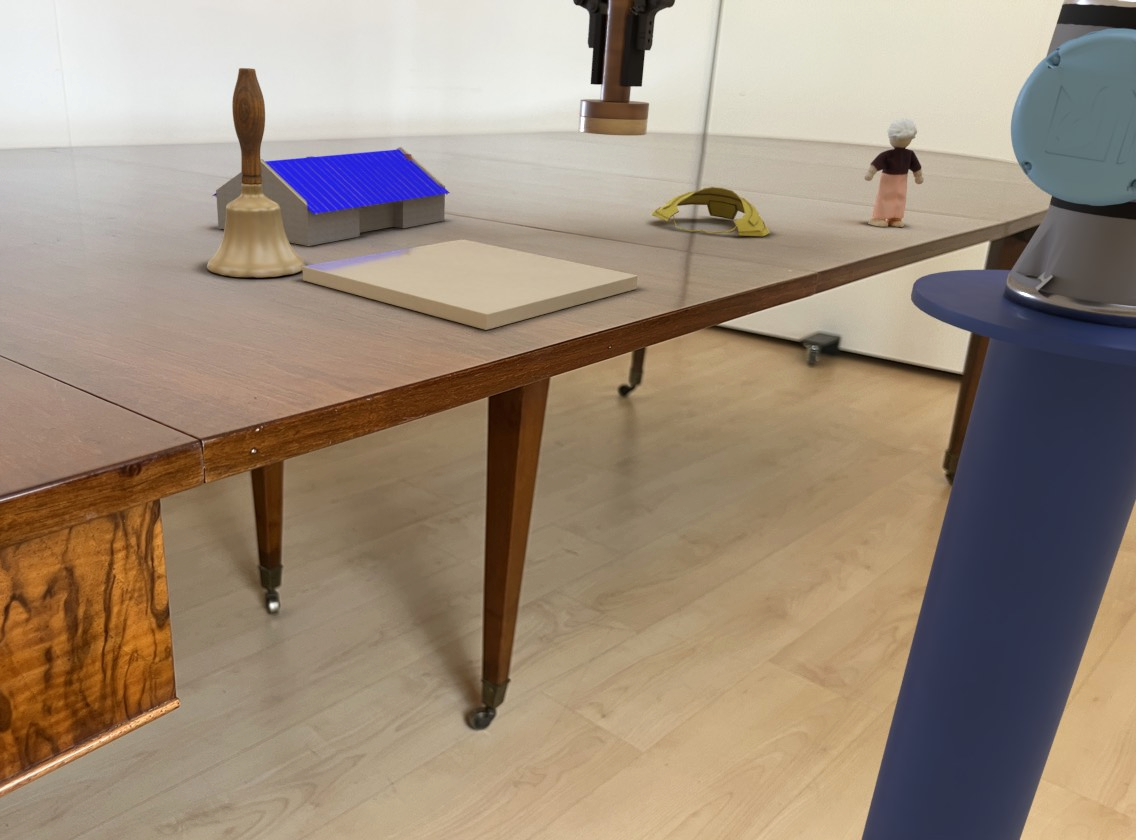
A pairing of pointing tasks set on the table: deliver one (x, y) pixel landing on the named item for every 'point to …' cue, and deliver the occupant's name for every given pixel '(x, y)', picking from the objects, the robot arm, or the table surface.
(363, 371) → the table surface
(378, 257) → the tile
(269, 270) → the hand bell
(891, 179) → the grandmother figurine
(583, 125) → the dish brush
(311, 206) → the model house
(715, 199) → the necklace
